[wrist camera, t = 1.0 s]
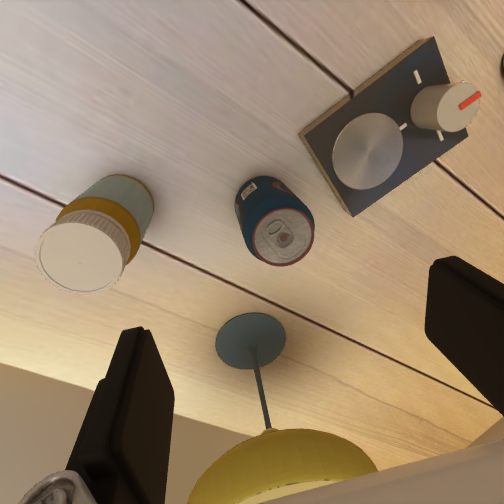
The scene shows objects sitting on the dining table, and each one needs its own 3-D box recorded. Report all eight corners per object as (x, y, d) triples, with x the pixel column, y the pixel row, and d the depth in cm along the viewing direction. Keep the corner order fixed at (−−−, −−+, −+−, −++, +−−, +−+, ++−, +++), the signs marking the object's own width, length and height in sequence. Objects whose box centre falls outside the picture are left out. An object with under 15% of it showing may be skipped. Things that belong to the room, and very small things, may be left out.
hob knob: (418, 136, 36) (447, 141, 32) (404, 102, 35) (432, 102, 30) (453, 112, 36) (487, 113, 31) (440, 75, 34) (474, 71, 30)
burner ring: (318, 144, 35) (319, 145, 35) (383, 95, 34) (385, 95, 34) (352, 202, 39) (353, 203, 38) (412, 159, 38) (414, 160, 37)
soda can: (299, 203, 40) (335, 239, 30) (258, 238, 42) (277, 285, 31) (265, 161, 38) (290, 185, 27) (221, 200, 39) (230, 237, 28)
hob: (345, 211, 42) (353, 218, 39) (297, 133, 37) (304, 135, 34) (463, 127, 39) (480, 129, 37) (429, 31, 34) (446, 26, 32)
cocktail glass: (169, 363, 48) (142, 589, 26) (230, 271, 43) (262, 454, 21) (266, 397, 54) (312, 602, 32) (330, 319, 49) (438, 501, 27)
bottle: (166, 199, 38) (147, 253, 24) (132, 242, 39) (96, 314, 26) (113, 160, 35) (59, 196, 22) (79, 207, 37) (9, 268, 23)
